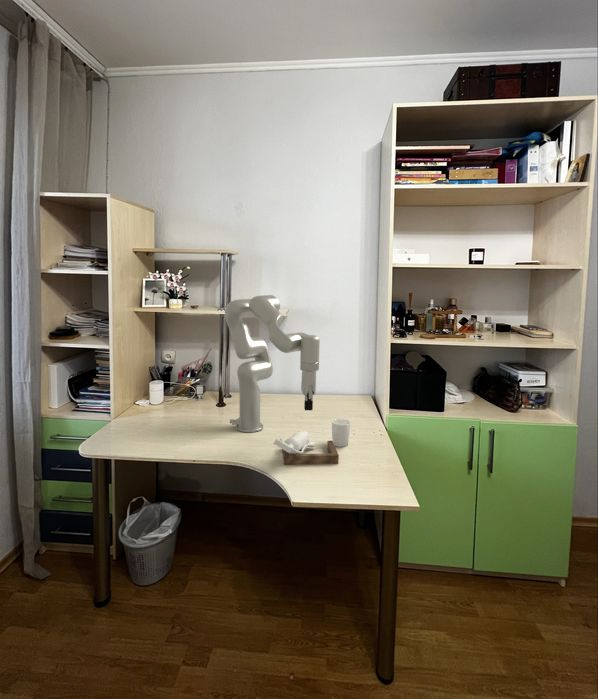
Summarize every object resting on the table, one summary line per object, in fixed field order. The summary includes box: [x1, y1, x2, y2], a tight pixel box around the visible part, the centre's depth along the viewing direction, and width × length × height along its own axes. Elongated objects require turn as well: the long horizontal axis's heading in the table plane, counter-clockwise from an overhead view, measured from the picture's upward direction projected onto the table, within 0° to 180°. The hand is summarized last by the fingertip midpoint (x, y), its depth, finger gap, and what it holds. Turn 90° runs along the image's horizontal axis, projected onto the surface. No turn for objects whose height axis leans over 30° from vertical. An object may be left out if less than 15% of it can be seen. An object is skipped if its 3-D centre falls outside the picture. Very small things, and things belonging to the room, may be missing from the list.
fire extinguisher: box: [273, 430, 317, 454], centre depth 182 cm, size 7×12×25 cm
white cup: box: [331, 418, 351, 448], centre depth 197 cm, size 8×8×10 cm
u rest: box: [281, 440, 340, 466], centre depth 184 cm, size 21×15×4 cm
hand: (308, 409), depth 188 cm, fingers closed
